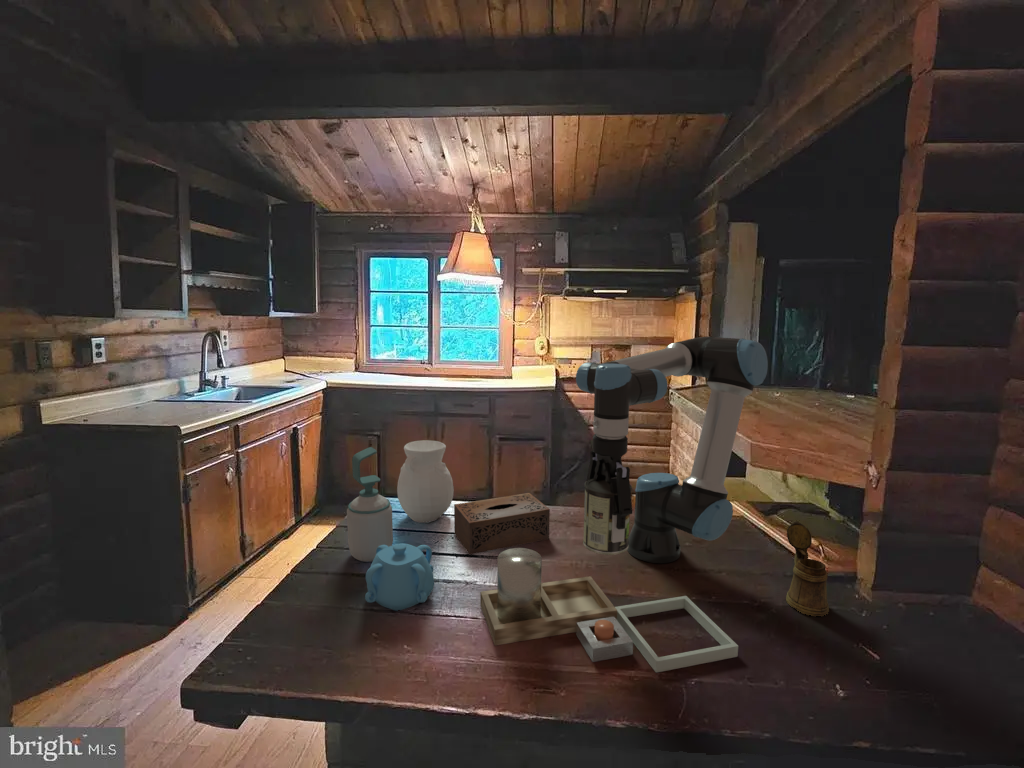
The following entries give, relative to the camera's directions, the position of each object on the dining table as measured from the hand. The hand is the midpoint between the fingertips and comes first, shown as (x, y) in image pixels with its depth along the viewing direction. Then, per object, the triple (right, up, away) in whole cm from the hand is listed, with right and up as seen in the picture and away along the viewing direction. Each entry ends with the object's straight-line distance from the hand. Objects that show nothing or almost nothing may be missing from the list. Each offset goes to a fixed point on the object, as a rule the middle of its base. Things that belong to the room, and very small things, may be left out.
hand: (606, 530), depth 119 cm
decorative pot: (-49, -20, +12) cm, 54 cm away
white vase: (-50, -12, +58) cm, 78 cm away
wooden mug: (+51, -21, +12) cm, 56 cm away
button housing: (-2, -23, -5) cm, 24 cm away
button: (-2, -22, -5) cm, 23 cm away
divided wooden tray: (-13, -21, +5) cm, 25 cm away
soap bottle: (-62, -16, +33) cm, 72 cm away
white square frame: (+14, -23, -2) cm, 27 cm away
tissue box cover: (-25, -15, +45) cm, 53 cm away
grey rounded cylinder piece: (-20, -20, +3) cm, 28 cm away
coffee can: (0, -3, +1) cm, 4 cm away
